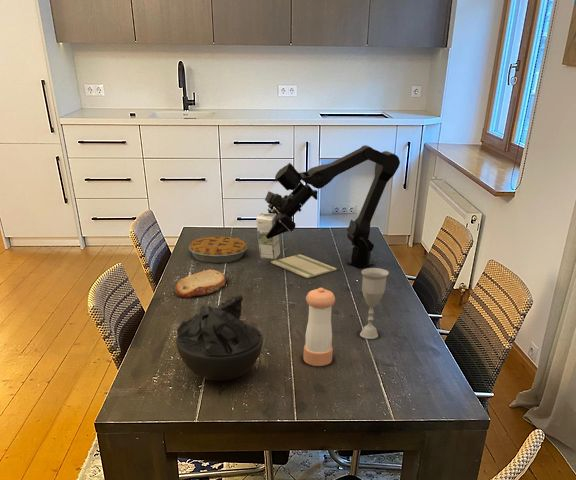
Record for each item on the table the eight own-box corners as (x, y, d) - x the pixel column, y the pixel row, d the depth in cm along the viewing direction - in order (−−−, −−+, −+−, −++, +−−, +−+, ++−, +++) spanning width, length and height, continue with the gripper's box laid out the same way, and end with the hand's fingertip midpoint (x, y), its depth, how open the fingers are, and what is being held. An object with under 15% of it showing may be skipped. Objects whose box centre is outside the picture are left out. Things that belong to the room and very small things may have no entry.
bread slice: (221, 274, 201) (221, 264, 199) (234, 293, 186) (234, 282, 184) (169, 279, 196) (168, 269, 194) (178, 299, 181) (177, 288, 179)
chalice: (364, 342, 158) (370, 278, 149) (351, 332, 163) (356, 270, 154) (387, 337, 161) (394, 274, 152) (372, 327, 166) (379, 266, 157)
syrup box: (280, 253, 205) (277, 212, 197) (274, 260, 201) (271, 219, 192) (265, 252, 207) (262, 211, 199) (259, 258, 203) (255, 217, 194)
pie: (245, 265, 210) (245, 251, 208) (184, 263, 210) (183, 250, 208) (249, 246, 229) (249, 234, 227) (193, 245, 229) (193, 232, 227)
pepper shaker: (299, 363, 147) (301, 291, 137) (308, 350, 153) (311, 281, 143) (327, 368, 145) (331, 295, 135) (335, 355, 151) (340, 285, 141)
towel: (299, 255, 221) (300, 253, 220) (336, 269, 207) (336, 268, 207) (270, 262, 213) (270, 261, 212) (307, 278, 200) (307, 276, 199)
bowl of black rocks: (192, 404, 129) (186, 326, 120) (170, 364, 145) (163, 293, 135) (275, 387, 136) (276, 312, 127) (246, 351, 152) (245, 282, 142)
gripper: (273, 177, 200) (242, 211, 203) (286, 189, 184) (252, 226, 187) (295, 199, 205) (265, 232, 208) (309, 213, 189) (276, 248, 193)
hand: (264, 234), depth 199 cm, fingers closed on syrup box, 8 cm apart
